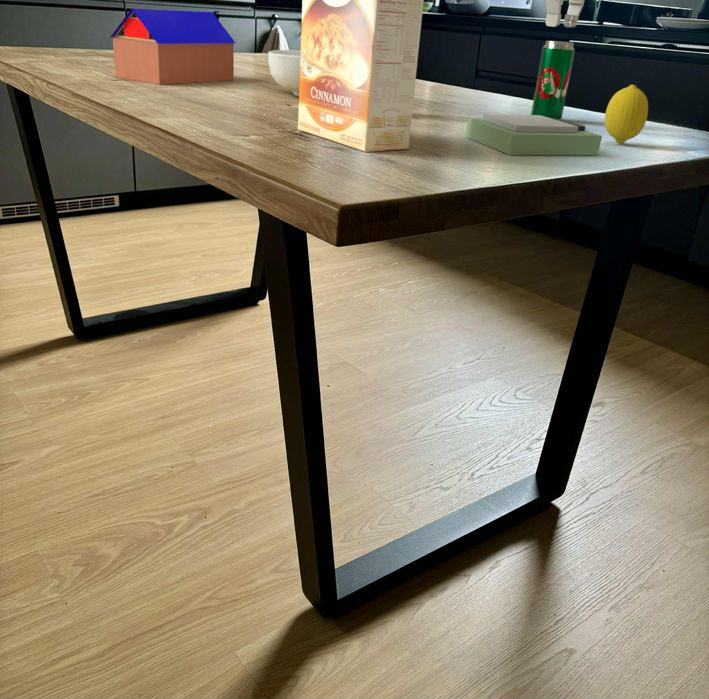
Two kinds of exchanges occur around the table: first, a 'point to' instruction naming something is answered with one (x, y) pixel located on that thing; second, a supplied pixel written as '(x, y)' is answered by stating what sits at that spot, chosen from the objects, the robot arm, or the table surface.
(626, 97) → the lemon
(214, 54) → the house
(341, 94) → the coffeecake box
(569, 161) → the table surface
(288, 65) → the cereal bowl
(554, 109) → the soda can
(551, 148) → the scale
